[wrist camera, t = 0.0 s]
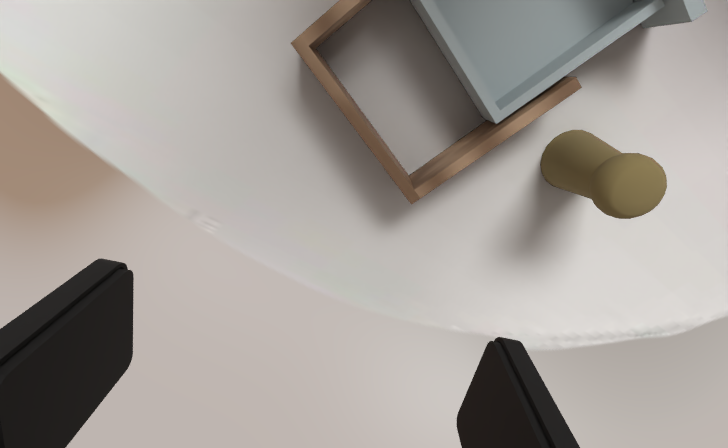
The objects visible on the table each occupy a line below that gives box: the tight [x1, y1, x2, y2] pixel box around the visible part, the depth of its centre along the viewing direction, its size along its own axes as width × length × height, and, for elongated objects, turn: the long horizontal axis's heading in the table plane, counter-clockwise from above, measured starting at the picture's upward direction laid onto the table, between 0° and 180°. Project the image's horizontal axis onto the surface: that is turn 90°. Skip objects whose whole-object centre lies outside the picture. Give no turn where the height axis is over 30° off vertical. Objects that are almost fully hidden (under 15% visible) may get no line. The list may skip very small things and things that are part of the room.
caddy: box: [291, 0, 582, 204], centre depth 34 cm, size 17×17×5 cm
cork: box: [541, 130, 667, 219], centre depth 35 cm, size 6×6×11 cm
